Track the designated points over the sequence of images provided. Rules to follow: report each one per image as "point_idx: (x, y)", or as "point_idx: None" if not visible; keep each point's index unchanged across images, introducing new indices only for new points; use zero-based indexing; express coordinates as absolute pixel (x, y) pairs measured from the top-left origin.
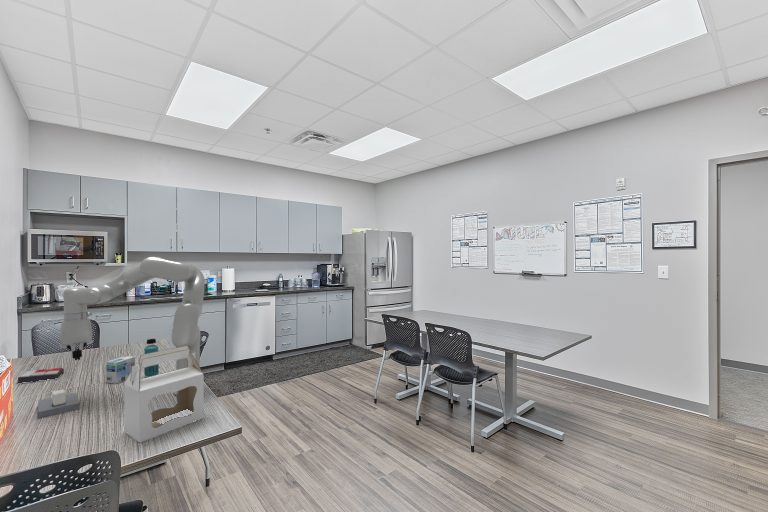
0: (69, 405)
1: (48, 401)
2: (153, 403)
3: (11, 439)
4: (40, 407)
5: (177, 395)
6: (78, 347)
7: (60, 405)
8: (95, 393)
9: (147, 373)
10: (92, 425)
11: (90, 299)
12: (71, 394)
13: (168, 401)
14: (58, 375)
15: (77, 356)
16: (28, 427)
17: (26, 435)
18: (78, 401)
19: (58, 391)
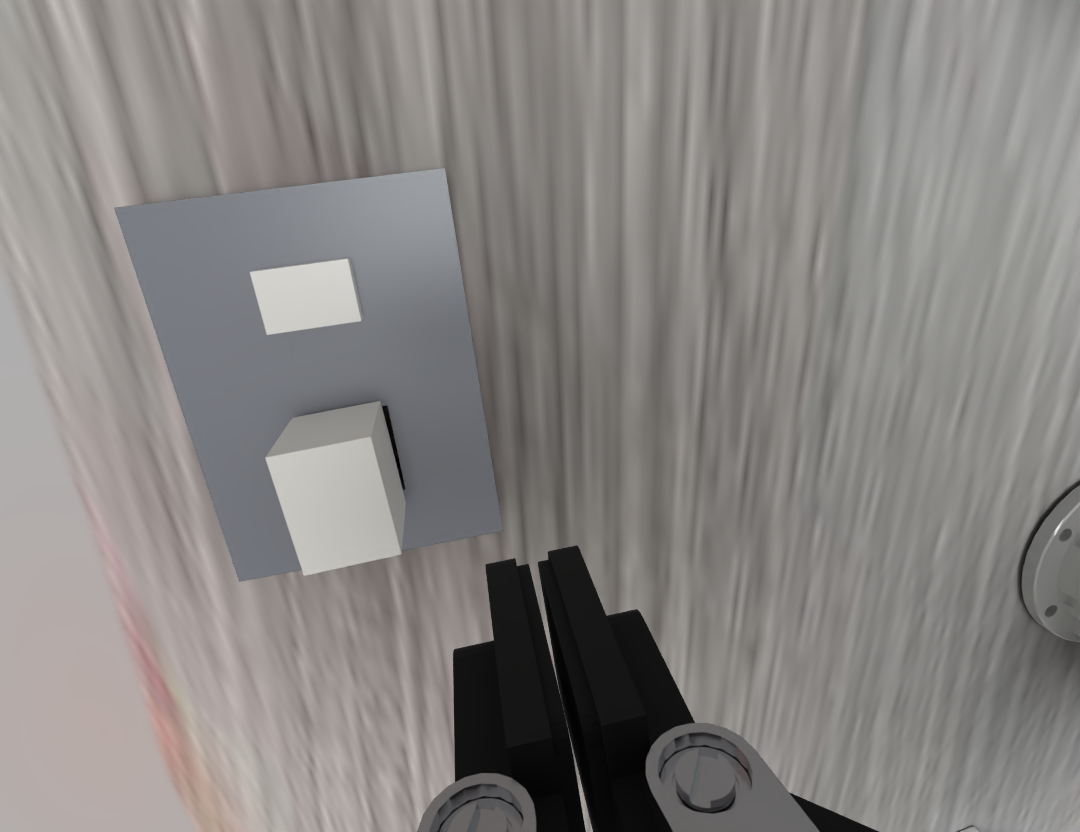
0: (441, 540)
1: (236, 322)
2: (889, 657)
3: (212, 814)
4: (218, 470)
5: None
6: (659, 818)
7: None
8: (594, 130)
9: None
10: (587, 813)
11: None
12: (408, 214)
13: (957, 668)
14: None
15: (563, 690)
16: (244, 684)
17: (278, 796)
18: (496, 491)
19: (327, 488)
